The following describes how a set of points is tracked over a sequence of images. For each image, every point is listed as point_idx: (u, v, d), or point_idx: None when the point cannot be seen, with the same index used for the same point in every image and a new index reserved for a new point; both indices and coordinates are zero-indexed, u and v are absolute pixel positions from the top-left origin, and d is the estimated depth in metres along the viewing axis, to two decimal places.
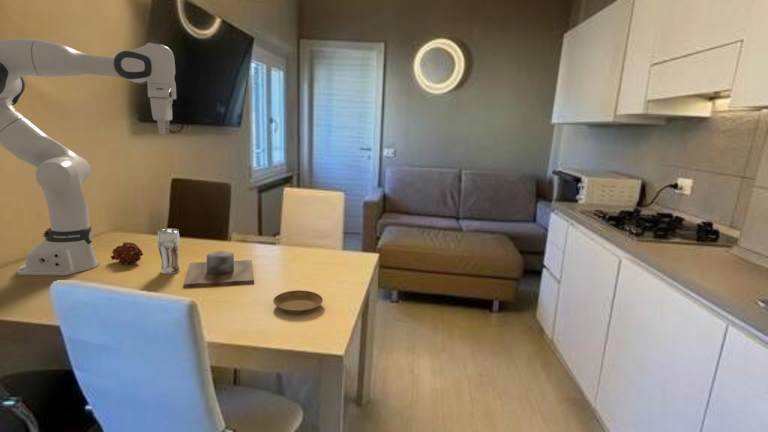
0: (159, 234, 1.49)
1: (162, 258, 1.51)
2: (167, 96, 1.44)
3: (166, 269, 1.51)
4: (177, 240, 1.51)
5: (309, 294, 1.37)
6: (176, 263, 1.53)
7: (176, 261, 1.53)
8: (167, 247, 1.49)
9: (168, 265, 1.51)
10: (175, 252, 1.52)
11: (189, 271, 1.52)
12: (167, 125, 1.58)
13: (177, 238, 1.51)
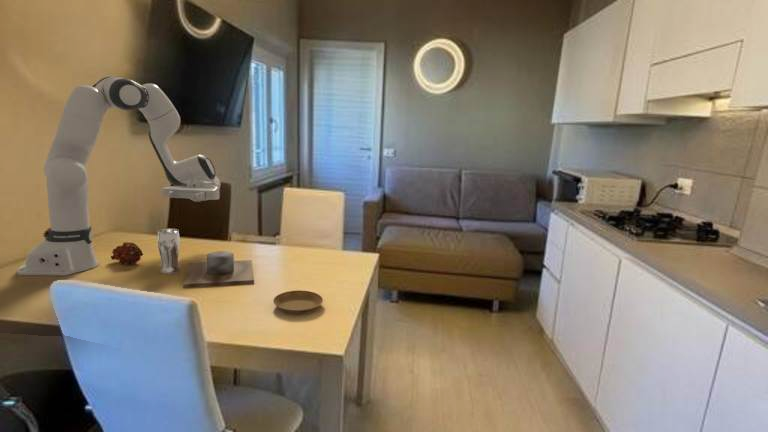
0: (159, 234, 1.49)
1: (162, 258, 1.51)
2: (218, 198, 1.74)
3: (166, 269, 1.51)
4: (177, 240, 1.51)
5: (309, 294, 1.37)
6: (176, 263, 1.53)
7: (176, 261, 1.53)
8: (167, 247, 1.49)
9: (168, 265, 1.51)
10: (174, 252, 1.52)
11: (189, 271, 1.52)
12: None
13: (177, 238, 1.51)
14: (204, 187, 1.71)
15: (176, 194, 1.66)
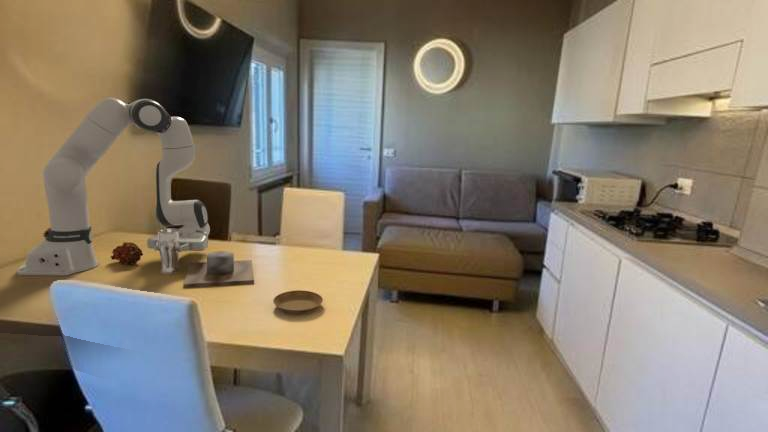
0: (159, 234, 1.49)
1: (162, 258, 1.51)
2: (206, 247, 1.65)
3: (166, 269, 1.51)
4: (177, 240, 1.51)
5: (309, 294, 1.37)
6: (176, 263, 1.53)
7: (176, 261, 1.53)
8: (167, 247, 1.49)
9: (169, 265, 1.51)
10: (175, 252, 1.52)
11: (189, 271, 1.52)
12: None
13: (177, 238, 1.51)
14: (191, 236, 1.62)
15: None
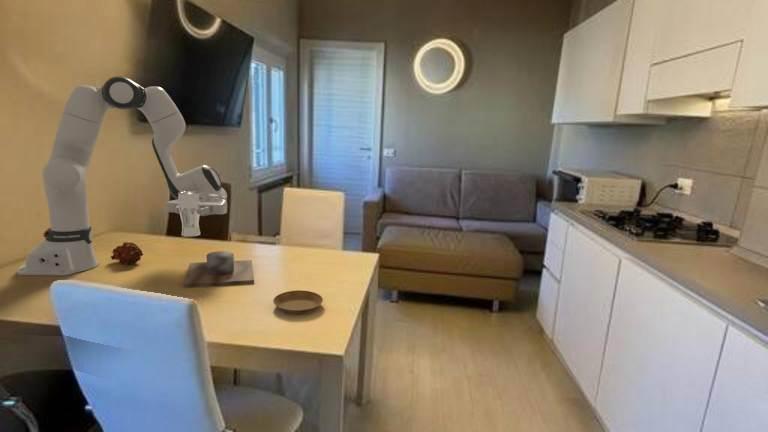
0: (180, 196, 1.46)
1: (183, 221, 1.49)
2: (225, 212, 1.63)
3: (187, 232, 1.49)
4: (198, 202, 1.49)
5: (309, 294, 1.37)
6: (197, 226, 1.51)
7: (197, 224, 1.51)
8: (188, 209, 1.47)
9: (190, 228, 1.49)
10: (195, 214, 1.49)
11: (189, 271, 1.52)
12: None
13: (198, 200, 1.49)
14: (211, 200, 1.59)
15: None
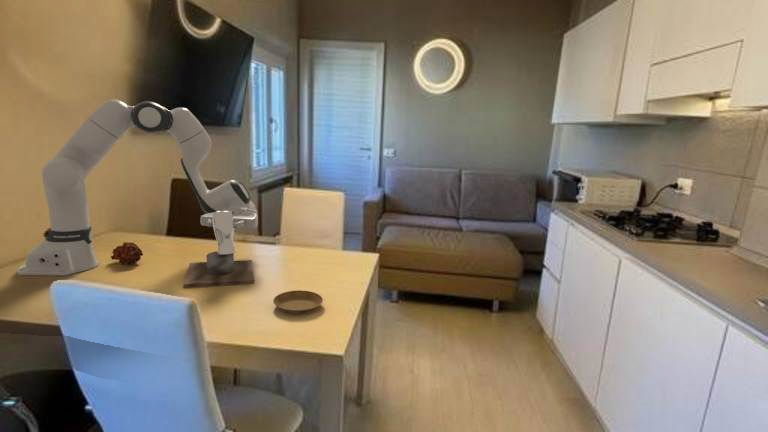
0: (214, 214, 1.49)
1: (218, 239, 1.50)
2: (256, 225, 1.67)
3: (223, 250, 1.50)
4: (231, 219, 1.52)
5: (309, 294, 1.37)
6: (232, 244, 1.52)
7: (232, 242, 1.52)
8: (223, 226, 1.49)
9: (225, 245, 1.50)
10: (230, 232, 1.51)
11: (189, 271, 1.52)
12: None
13: (231, 217, 1.52)
14: (243, 214, 1.63)
15: None
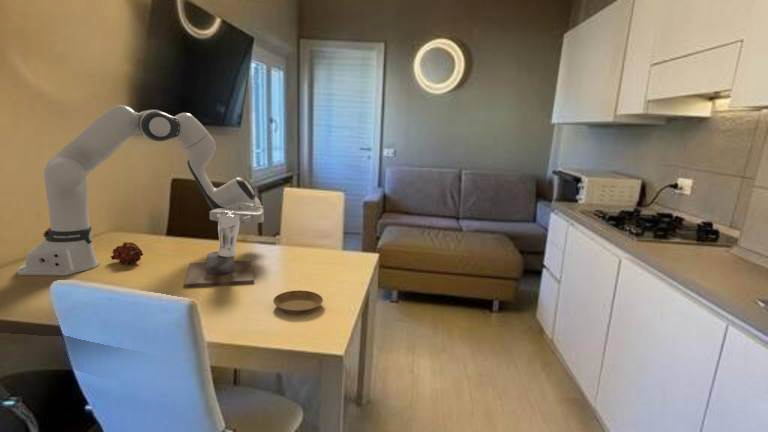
0: (221, 216, 1.48)
1: (221, 241, 1.50)
2: None
3: (224, 252, 1.50)
4: (238, 224, 1.50)
5: (309, 294, 1.37)
6: (234, 247, 1.52)
7: (234, 245, 1.52)
8: (228, 230, 1.48)
9: (227, 248, 1.50)
10: (234, 236, 1.50)
11: (189, 271, 1.52)
12: None
13: (238, 222, 1.50)
14: (249, 210, 1.72)
15: None
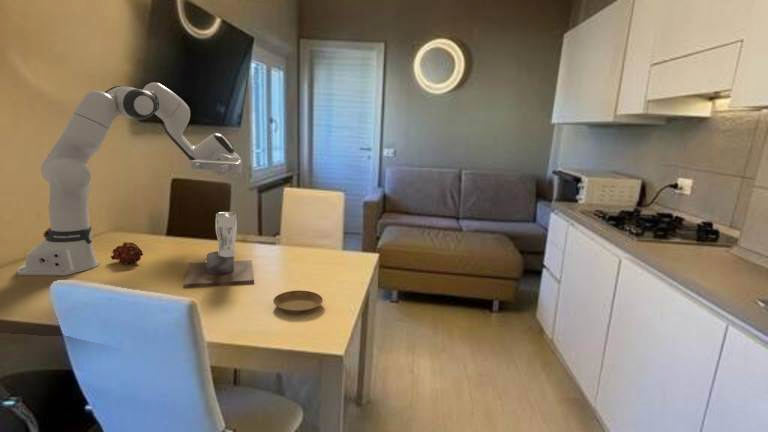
0: (218, 217, 1.48)
1: (220, 241, 1.50)
2: (240, 172, 1.84)
3: (224, 253, 1.50)
4: (235, 223, 1.50)
5: (309, 294, 1.37)
6: (233, 247, 1.52)
7: (233, 245, 1.52)
8: (226, 230, 1.48)
9: (226, 249, 1.50)
10: (232, 235, 1.50)
11: (189, 271, 1.52)
12: None
13: (235, 221, 1.50)
14: (228, 161, 1.81)
15: (202, 166, 1.76)
